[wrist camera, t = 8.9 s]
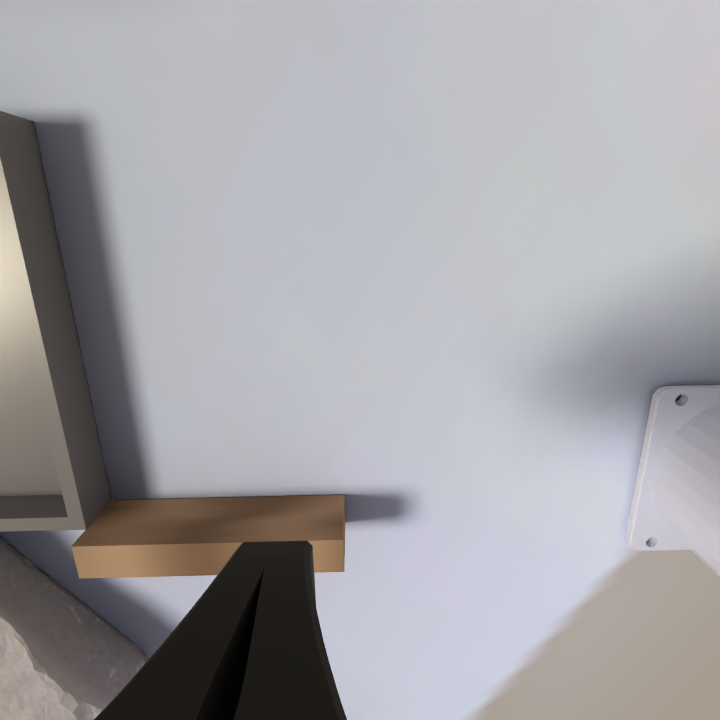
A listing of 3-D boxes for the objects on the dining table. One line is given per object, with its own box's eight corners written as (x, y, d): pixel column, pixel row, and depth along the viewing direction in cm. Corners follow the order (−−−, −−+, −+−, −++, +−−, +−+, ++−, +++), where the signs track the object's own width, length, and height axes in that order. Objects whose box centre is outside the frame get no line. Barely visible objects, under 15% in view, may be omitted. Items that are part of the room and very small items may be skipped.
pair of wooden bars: (344, 494, 20) (343, 539, 17) (352, 769, 25) (352, 839, 23) (-84, 504, 20) (-158, 552, 17) (14, 780, 25) (-29, 852, 22)
